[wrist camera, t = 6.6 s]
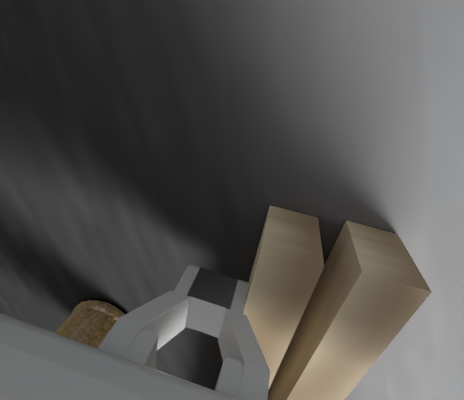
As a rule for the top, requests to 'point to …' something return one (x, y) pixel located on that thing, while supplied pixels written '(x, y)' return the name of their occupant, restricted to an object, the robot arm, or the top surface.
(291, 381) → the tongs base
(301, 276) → the tong arm
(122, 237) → the top surface
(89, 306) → the sprinkles bottle
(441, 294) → the top surface
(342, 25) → the top surface
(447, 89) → the top surface
